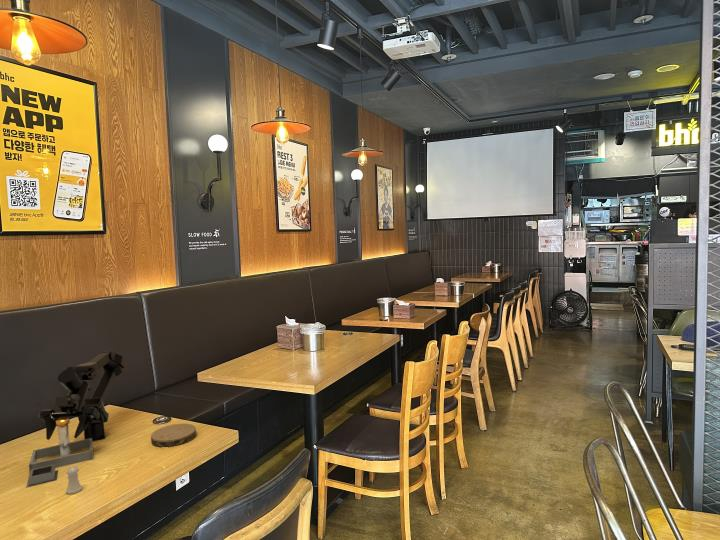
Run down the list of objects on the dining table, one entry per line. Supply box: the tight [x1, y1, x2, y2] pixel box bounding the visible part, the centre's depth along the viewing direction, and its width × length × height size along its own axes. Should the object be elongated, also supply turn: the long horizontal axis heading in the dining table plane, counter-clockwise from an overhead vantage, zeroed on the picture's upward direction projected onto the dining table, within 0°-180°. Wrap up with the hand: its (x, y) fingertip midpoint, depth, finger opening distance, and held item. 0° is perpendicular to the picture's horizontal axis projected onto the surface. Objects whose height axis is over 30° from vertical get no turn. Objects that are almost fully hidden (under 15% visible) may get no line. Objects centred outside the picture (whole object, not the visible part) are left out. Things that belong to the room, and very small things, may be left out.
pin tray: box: [28, 438, 94, 471], centre depth 165 cm, size 18×13×4 cm
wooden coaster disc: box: [150, 423, 197, 449], centre depth 181 cm, size 16×16×3 cm
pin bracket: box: [25, 464, 59, 488], centre depth 151 cm, size 8×8×4 cm
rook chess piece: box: [65, 465, 83, 495], centre depth 143 cm, size 4×4×8 cm
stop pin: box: [56, 417, 72, 457], centre depth 164 cm, size 4×4×14 cm
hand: (61, 438), depth 162 cm, fingers open, 9 cm apart
